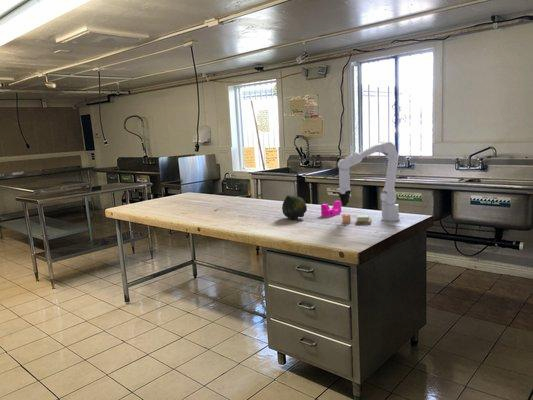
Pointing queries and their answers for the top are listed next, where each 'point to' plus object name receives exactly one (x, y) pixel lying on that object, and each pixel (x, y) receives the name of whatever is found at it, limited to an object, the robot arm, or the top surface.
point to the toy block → (333, 211)
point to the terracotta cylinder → (346, 218)
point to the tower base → (364, 222)
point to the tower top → (363, 218)
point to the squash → (294, 207)
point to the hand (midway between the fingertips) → (345, 204)
